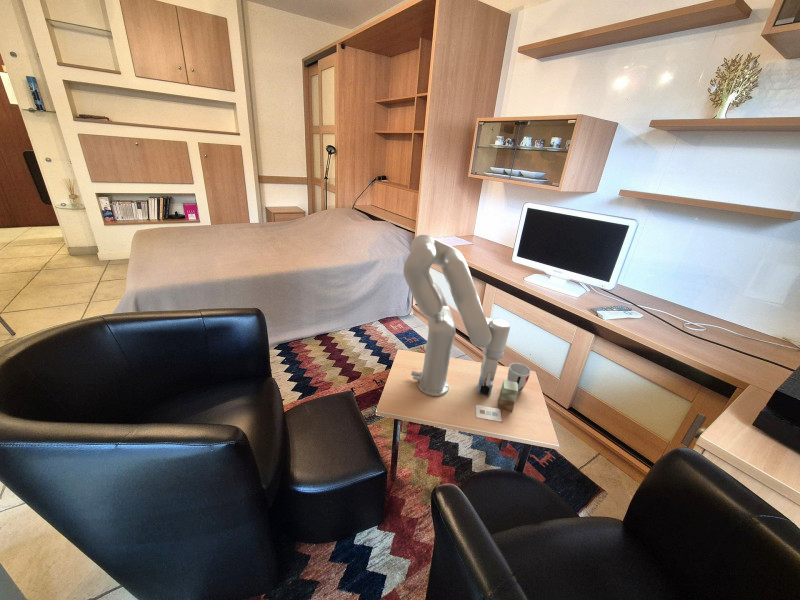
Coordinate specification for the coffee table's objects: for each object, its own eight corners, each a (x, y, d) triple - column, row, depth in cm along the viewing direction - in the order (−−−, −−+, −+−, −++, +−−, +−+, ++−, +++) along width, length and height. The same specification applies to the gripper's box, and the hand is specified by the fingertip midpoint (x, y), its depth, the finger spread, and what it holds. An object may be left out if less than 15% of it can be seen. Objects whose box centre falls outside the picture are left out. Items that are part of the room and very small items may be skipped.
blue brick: (477, 392, 130) (479, 382, 128) (478, 384, 135) (480, 374, 133) (490, 395, 129) (492, 385, 127) (490, 387, 134) (492, 377, 132)
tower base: (498, 409, 123) (503, 387, 119) (498, 400, 127) (503, 379, 123) (511, 412, 122) (518, 391, 118) (511, 403, 126) (517, 382, 122)
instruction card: (476, 417, 118) (476, 416, 118) (475, 405, 124) (475, 404, 124) (501, 422, 117) (502, 421, 117) (500, 409, 123) (500, 408, 122)
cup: (511, 396, 130) (516, 376, 125) (500, 383, 137) (505, 363, 132) (528, 394, 132) (535, 374, 128) (517, 381, 139) (522, 361, 135)
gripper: (483, 337, 133) (475, 374, 140) (482, 360, 118) (473, 400, 125) (503, 341, 131) (493, 378, 139) (504, 365, 116) (493, 405, 124)
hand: (484, 388), depth 132 cm, fingers closed on blue brick, 5 cm apart
